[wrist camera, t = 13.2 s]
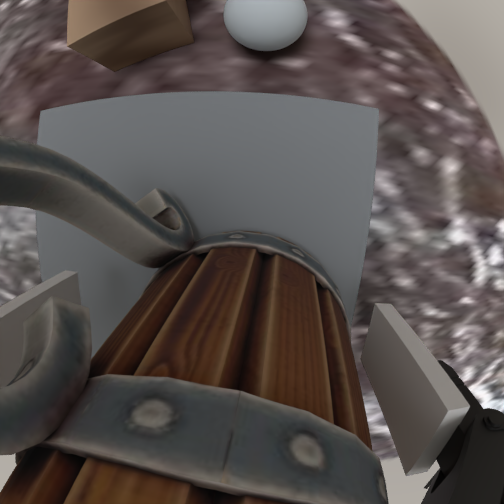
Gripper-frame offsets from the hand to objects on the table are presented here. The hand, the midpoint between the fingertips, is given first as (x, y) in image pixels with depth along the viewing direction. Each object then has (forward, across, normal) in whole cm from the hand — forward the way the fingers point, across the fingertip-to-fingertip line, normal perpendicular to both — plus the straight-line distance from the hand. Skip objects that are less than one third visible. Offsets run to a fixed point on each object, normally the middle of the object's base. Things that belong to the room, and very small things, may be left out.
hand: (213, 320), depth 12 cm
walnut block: (+5, -6, +15) cm, 17 cm away
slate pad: (+4, -3, 0) cm, 5 cm away
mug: (+4, 0, 0) cm, 4 cm away
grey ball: (+3, +1, +14) cm, 14 cm away
